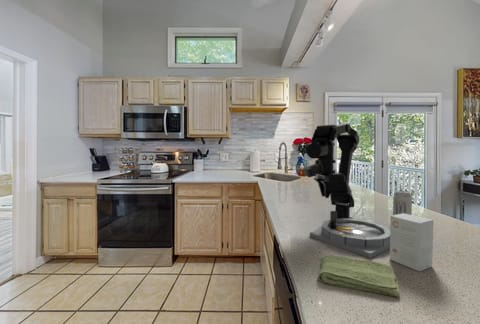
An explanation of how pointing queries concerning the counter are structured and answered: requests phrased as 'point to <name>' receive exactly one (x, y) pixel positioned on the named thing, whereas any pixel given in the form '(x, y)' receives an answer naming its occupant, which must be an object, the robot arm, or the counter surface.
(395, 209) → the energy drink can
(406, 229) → the small box
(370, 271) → the washcloth
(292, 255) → the counter surface
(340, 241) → the grey round platform
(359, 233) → the dial
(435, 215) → the counter surface
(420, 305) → the counter surface
